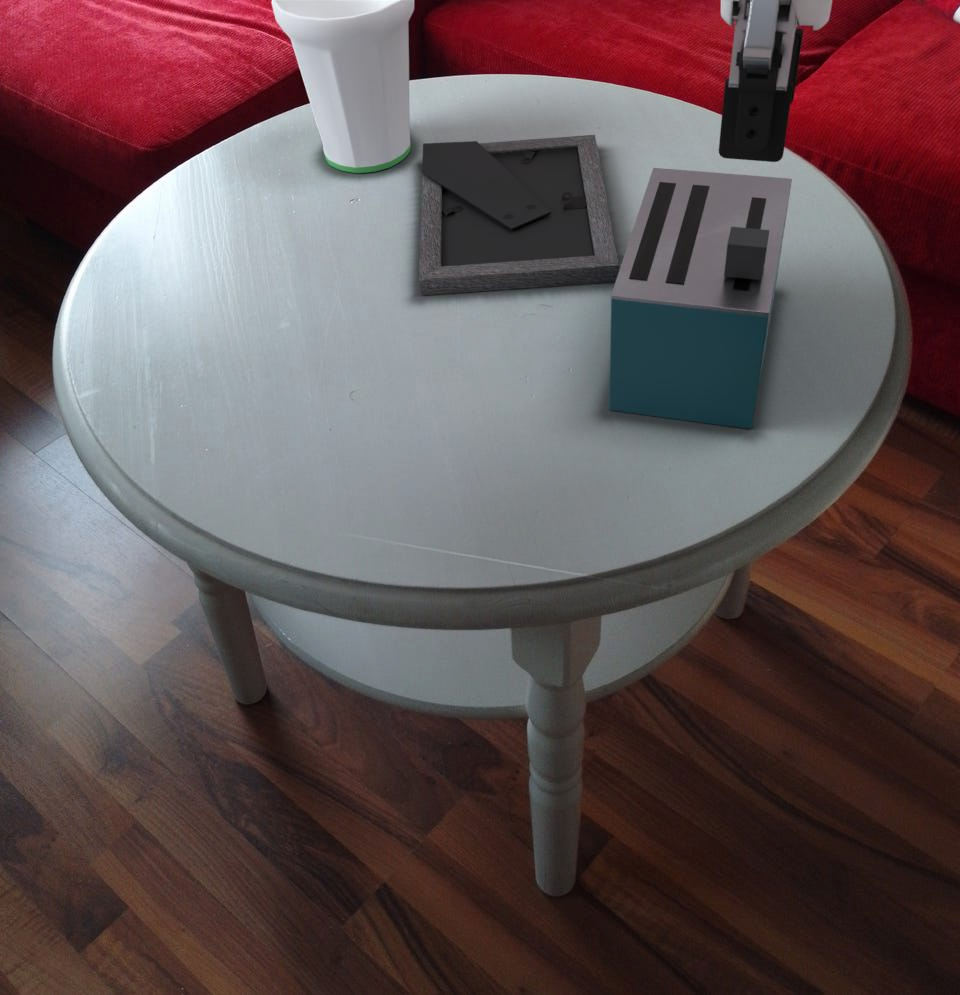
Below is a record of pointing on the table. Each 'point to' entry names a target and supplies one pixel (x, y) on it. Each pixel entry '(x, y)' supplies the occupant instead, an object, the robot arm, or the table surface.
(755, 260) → the block
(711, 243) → the toaster
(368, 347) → the table surface
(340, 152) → the cup
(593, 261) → the picture frame
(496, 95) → the table surface
